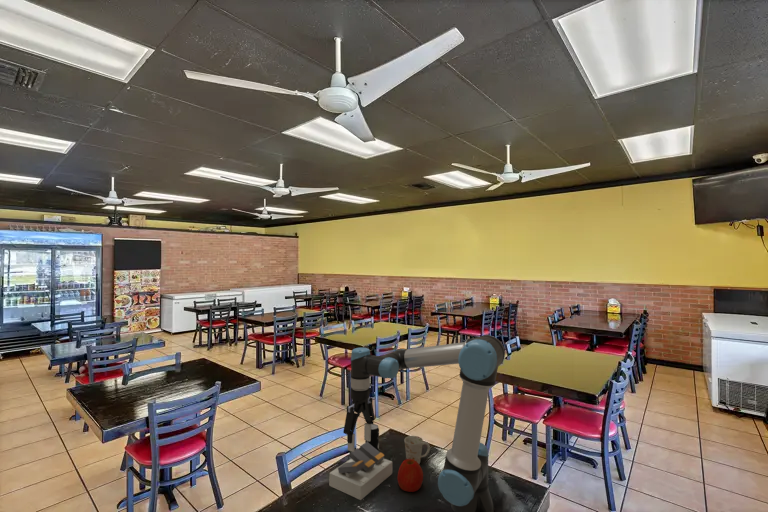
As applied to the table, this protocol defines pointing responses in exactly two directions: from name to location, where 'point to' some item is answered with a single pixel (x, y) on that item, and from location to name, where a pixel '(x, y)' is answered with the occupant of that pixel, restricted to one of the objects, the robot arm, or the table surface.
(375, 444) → the beverage can
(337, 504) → the table surface
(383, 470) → the switch unit
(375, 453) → the rocker right
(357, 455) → the rocker mid
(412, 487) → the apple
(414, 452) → the mug
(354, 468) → the rocker left
